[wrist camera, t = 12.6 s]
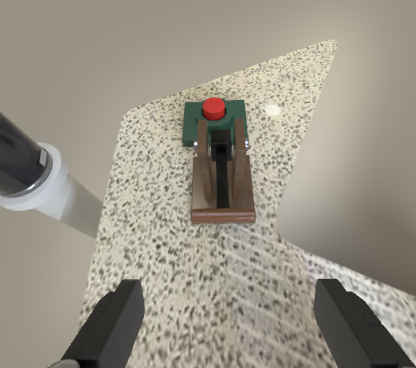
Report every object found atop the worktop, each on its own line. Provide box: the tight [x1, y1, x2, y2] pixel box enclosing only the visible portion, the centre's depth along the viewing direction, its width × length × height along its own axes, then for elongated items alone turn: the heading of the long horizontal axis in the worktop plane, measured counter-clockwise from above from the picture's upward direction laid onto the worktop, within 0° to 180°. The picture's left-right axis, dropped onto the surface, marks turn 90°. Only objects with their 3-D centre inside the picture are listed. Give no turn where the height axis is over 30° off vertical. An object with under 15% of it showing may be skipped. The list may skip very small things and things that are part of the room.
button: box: [203, 98, 225, 121], centre depth 38 cm, size 4×4×2 cm
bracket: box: [191, 119, 254, 224], centre depth 29 cm, size 11×9×13 cm
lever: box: [191, 129, 256, 224], centre depth 22 cm, size 12×5×2 cm, turn 179°
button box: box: [182, 98, 248, 146], centre depth 40 cm, size 11×9×4 cm
